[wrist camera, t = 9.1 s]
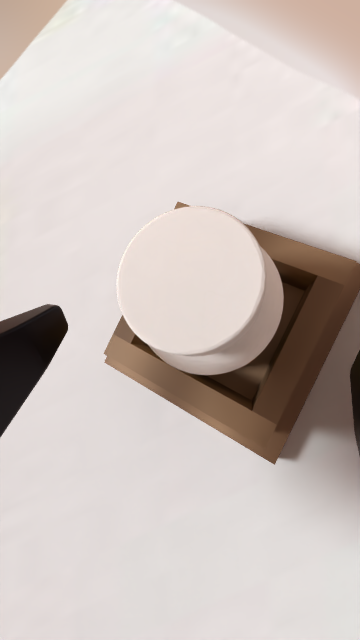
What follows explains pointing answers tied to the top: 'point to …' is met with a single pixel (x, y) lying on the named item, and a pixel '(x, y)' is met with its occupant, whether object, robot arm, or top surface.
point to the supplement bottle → (200, 290)
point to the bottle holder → (271, 364)
